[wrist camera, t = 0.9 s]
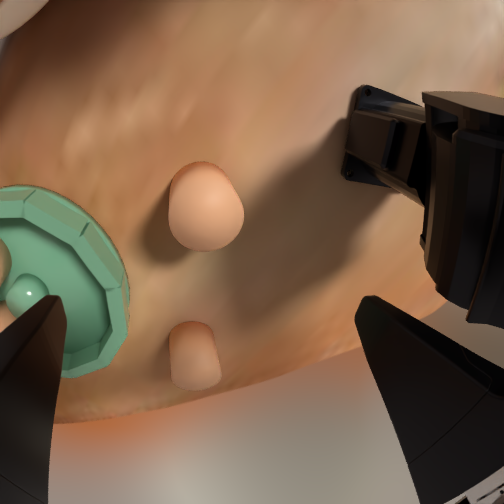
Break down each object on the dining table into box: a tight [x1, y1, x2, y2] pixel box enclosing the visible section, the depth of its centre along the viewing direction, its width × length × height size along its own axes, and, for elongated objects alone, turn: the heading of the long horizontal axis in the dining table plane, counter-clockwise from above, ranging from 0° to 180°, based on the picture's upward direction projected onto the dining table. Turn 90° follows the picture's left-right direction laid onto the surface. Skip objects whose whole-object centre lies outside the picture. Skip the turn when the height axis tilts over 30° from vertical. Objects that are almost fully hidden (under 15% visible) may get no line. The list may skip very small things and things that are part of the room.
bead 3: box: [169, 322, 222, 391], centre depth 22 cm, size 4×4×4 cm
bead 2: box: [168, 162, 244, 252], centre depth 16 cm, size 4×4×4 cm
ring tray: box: [0, 185, 130, 378], centre depth 16 cm, size 15×15×3 cm
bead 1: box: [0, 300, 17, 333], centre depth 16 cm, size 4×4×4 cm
